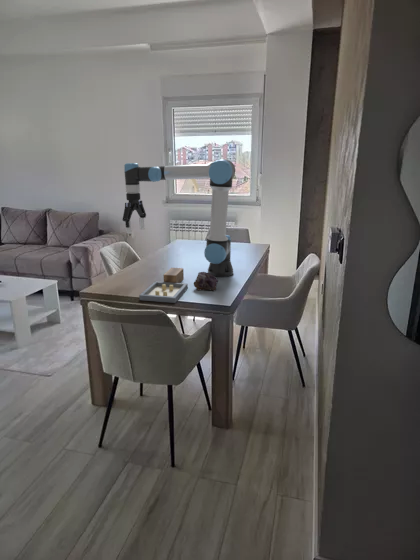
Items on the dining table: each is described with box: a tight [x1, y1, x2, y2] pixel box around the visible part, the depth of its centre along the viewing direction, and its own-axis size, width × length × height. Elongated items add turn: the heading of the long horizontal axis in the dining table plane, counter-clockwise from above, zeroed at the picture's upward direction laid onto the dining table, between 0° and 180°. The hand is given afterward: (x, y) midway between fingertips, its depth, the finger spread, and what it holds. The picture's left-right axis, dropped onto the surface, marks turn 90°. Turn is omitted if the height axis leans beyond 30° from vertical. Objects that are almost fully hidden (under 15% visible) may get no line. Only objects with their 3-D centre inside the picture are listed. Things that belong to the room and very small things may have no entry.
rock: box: [193, 271, 219, 291], centre depth 198 cm, size 12×9×10 cm
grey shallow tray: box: [139, 280, 189, 304], centre depth 191 cm, size 18×22×3 cm
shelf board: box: [162, 267, 185, 283], centre depth 209 cm, size 7×14×6 cm, turn 168°
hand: (135, 231), depth 214 cm, fingers open, 13 cm apart
